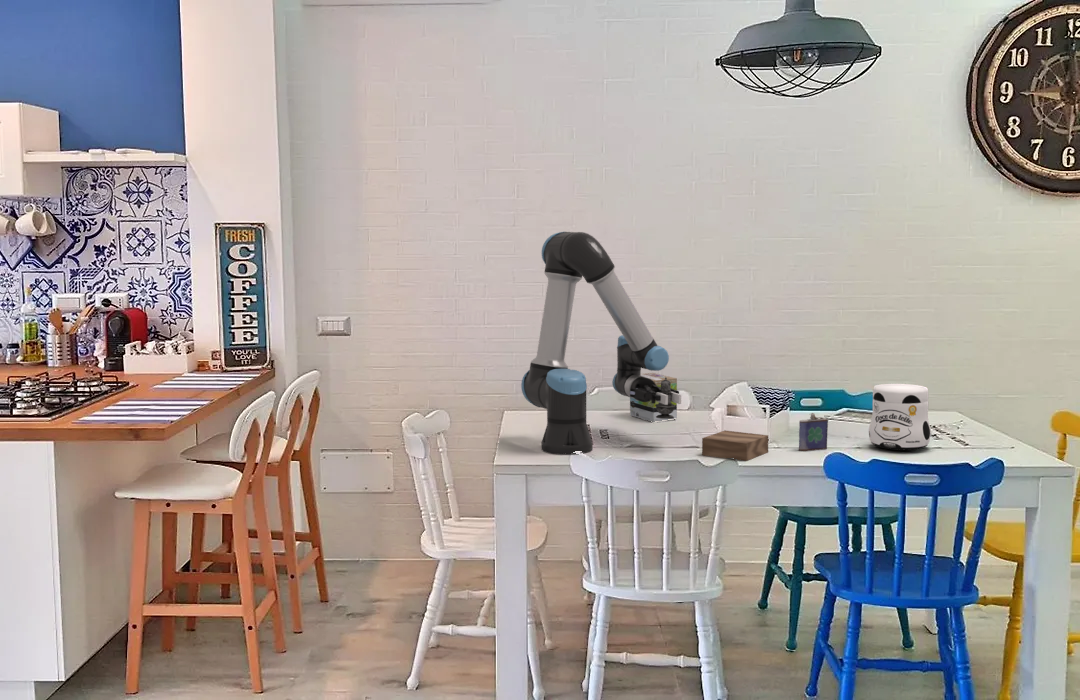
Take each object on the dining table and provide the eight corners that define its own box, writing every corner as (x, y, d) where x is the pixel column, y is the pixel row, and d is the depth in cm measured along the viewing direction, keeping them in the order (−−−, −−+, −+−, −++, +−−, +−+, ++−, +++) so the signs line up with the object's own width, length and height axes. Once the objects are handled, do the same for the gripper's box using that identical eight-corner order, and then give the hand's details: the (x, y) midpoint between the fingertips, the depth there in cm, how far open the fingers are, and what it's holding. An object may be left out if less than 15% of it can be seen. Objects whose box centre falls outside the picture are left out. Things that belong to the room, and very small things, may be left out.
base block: (746, 461, 310) (746, 443, 310) (702, 455, 319) (702, 438, 318) (768, 452, 321) (768, 435, 321) (724, 446, 330) (724, 430, 329)
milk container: (879, 454, 317) (881, 392, 315) (860, 442, 334) (862, 383, 332) (939, 453, 317) (941, 391, 315) (917, 441, 334) (919, 382, 332)
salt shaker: (662, 415, 330) (662, 375, 329) (678, 417, 326) (679, 376, 325) (651, 417, 326) (651, 376, 324) (668, 419, 322) (668, 378, 321)
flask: (801, 451, 322) (802, 415, 321) (796, 449, 325) (796, 413, 324) (829, 449, 325) (829, 413, 324) (823, 447, 328) (824, 411, 327)
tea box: (628, 416, 383) (628, 374, 381) (653, 413, 387) (653, 372, 386) (653, 423, 370) (653, 379, 368) (678, 420, 374) (678, 377, 372)
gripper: (665, 399, 345) (699, 411, 323) (615, 401, 340) (646, 413, 318) (665, 375, 345) (699, 385, 322) (616, 377, 339) (647, 388, 317)
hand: (673, 399), depth 320 cm, fingers closed on salt shaker, 3 cm apart
